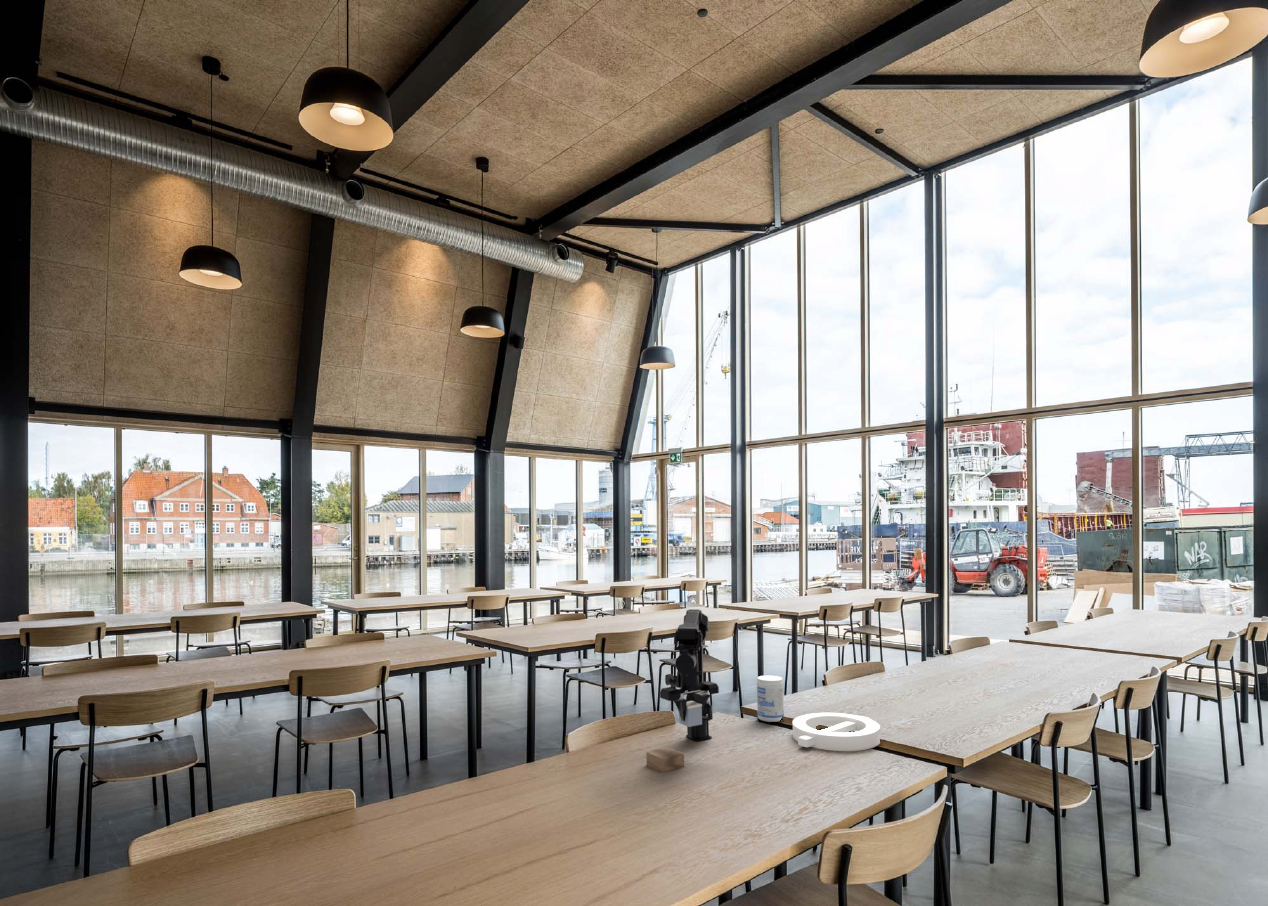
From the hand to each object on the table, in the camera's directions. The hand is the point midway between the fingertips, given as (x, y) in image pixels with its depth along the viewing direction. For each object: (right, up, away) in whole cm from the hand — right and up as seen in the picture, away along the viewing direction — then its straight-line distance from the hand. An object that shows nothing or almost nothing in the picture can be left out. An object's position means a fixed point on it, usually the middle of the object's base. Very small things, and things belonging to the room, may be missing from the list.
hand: (690, 719), depth 218 cm
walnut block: (-8, -12, -7) cm, 16 cm away
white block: (0, -1, 0) cm, 1 cm away
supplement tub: (+33, -15, +41) cm, 54 cm away
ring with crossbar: (+50, -13, +17) cm, 54 cm away
